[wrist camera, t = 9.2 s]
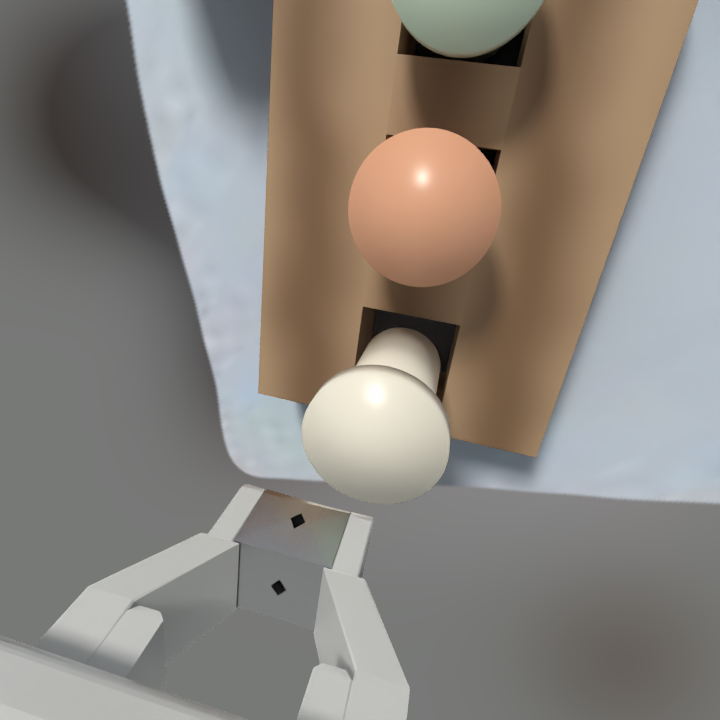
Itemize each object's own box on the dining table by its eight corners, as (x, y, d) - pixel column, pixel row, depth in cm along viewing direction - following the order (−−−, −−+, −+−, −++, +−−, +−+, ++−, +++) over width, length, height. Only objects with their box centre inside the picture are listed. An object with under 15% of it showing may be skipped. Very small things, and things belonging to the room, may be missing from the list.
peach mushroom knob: (506, 144, 22) (520, 139, 15) (478, 260, 25) (480, 299, 18) (391, 129, 23) (357, 117, 16) (375, 242, 25) (340, 273, 19)
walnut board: (687, -79, 19) (751, -150, 15) (526, 411, 29) (536, 457, 25) (320, -102, 22) (280, -169, 17) (288, 360, 32) (258, 393, 27)
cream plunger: (467, 324, 22) (464, 395, 16) (444, 421, 25) (433, 519, 18) (355, 302, 23) (307, 361, 17) (343, 398, 26) (296, 484, 19)
